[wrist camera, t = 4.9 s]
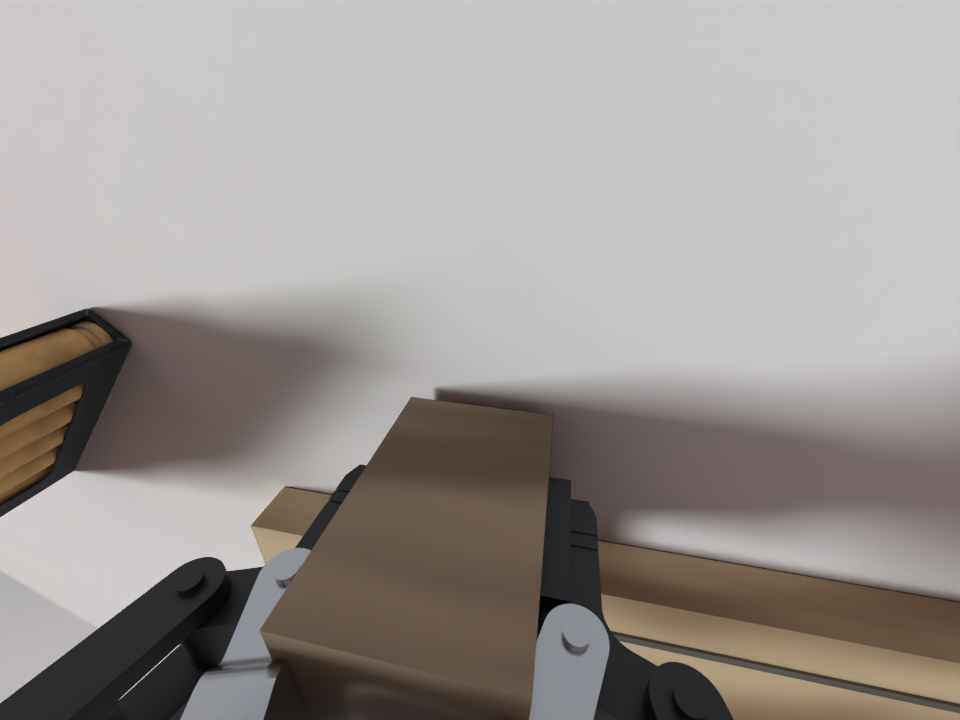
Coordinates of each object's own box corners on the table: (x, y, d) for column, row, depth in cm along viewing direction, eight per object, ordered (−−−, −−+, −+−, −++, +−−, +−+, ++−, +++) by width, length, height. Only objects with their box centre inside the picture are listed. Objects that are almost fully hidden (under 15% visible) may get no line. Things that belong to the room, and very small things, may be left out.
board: (284, 486, 17) (248, 527, 15) (971, 604, 12) (1040, 682, 11) (326, 624, 21) (303, 668, 20) (837, 745, 17) (868, 815, 15)
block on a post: (411, 397, 13) (258, 630, 6) (553, 415, 12) (531, 699, 6) (430, 621, 18) (358, 856, 12) (526, 643, 17) (500, 905, 11)
